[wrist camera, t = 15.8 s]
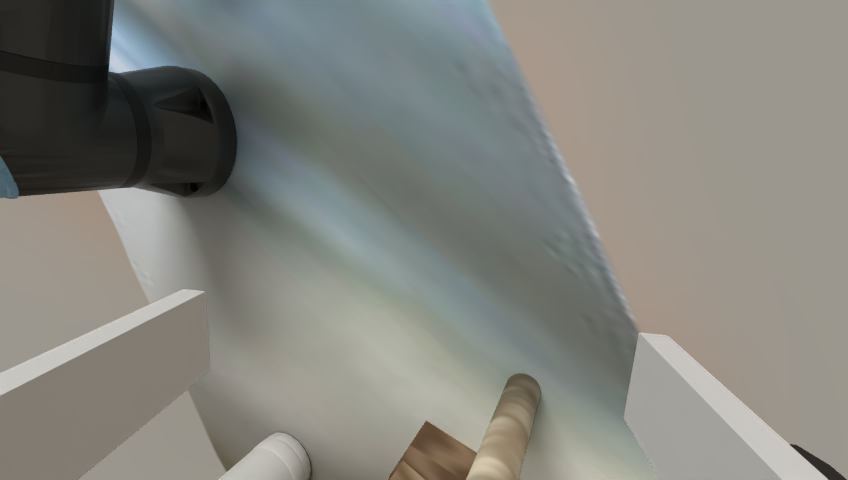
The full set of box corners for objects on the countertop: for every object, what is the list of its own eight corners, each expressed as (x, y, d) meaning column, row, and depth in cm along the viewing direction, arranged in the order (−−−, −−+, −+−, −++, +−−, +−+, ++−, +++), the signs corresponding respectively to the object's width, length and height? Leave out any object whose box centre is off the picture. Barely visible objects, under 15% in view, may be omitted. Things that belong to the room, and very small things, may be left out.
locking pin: (501, 394, 39) (453, 508, 26) (513, 367, 38) (468, 474, 25) (533, 410, 38) (499, 537, 25) (545, 384, 37) (516, 502, 24)
